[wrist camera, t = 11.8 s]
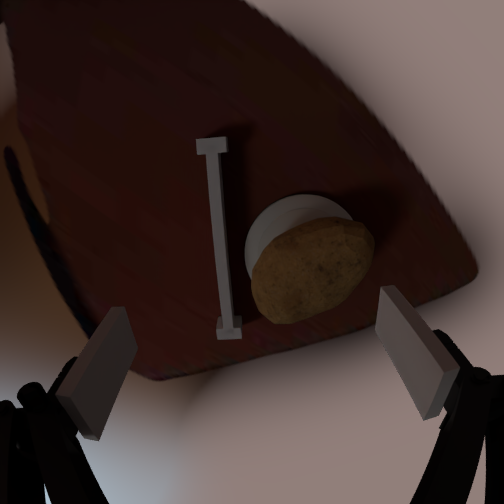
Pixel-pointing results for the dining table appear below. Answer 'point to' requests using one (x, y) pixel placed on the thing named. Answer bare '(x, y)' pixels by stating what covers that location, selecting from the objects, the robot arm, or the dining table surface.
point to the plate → (286, 221)
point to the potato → (311, 268)
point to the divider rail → (220, 236)
